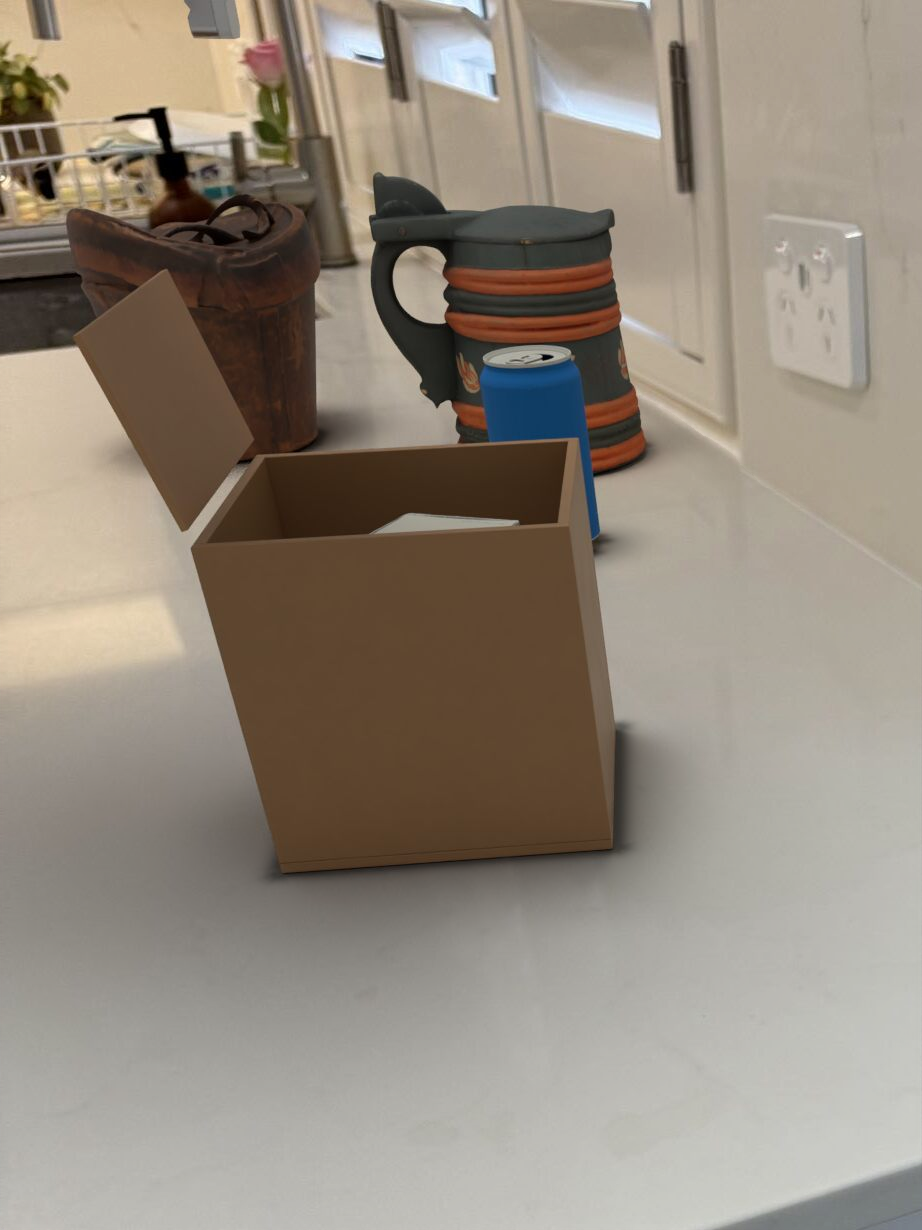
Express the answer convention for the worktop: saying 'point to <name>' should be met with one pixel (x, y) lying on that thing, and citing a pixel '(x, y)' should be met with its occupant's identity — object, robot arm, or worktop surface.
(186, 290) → the brown plant pot
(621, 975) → the worktop surface
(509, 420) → the beverage can
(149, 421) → the flap
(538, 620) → the carton
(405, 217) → the beer stein
